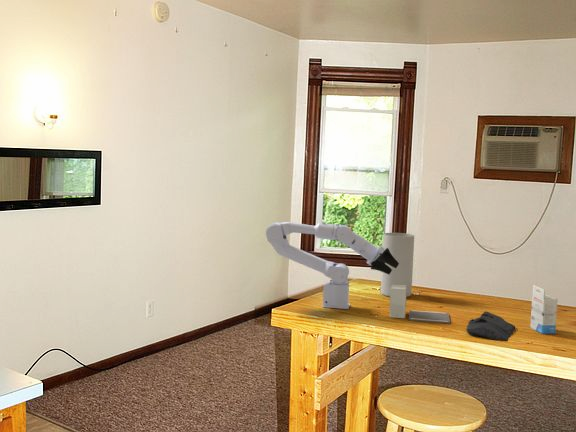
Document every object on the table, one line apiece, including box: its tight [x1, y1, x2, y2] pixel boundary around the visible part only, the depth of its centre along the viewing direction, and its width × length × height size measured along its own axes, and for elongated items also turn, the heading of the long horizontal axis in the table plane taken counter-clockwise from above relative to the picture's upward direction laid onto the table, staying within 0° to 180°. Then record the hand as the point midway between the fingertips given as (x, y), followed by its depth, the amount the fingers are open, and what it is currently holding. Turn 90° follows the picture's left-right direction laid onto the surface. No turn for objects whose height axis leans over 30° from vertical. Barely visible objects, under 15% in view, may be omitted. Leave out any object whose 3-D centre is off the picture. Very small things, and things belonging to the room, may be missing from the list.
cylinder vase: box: [380, 232, 415, 298], centre depth 264 cm, size 12×12×25 cm
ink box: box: [529, 284, 559, 335], centre depth 214 cm, size 9×5×15 cm, turn 5°
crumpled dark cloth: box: [465, 311, 516, 342], centre depth 212 cm, size 15×22×5 cm
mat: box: [408, 309, 451, 325], centre depth 227 cm, size 14×14×1 cm
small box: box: [388, 284, 407, 319], centre depth 228 cm, size 8×6×10 cm
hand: (394, 269), depth 236 cm, fingers open, 7 cm apart
